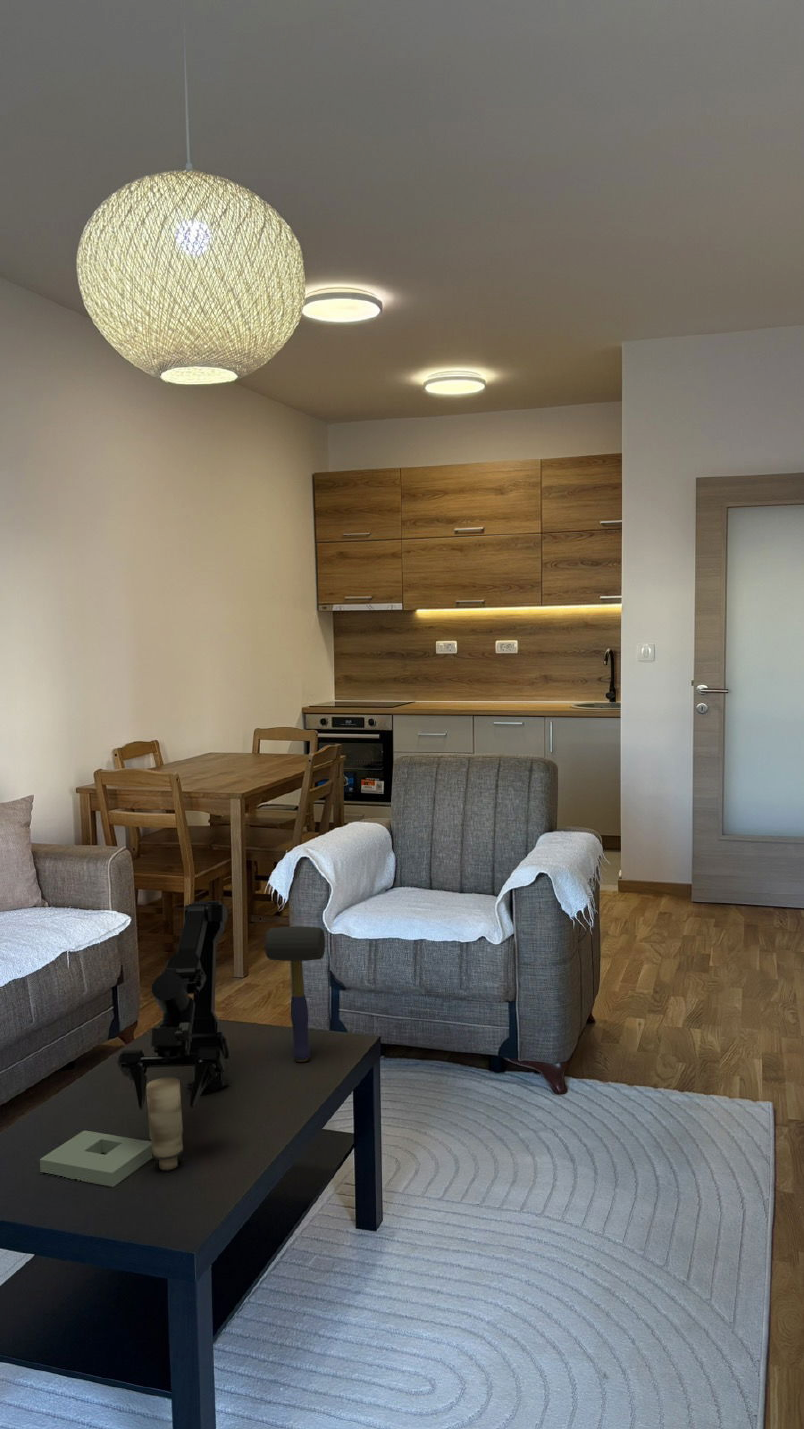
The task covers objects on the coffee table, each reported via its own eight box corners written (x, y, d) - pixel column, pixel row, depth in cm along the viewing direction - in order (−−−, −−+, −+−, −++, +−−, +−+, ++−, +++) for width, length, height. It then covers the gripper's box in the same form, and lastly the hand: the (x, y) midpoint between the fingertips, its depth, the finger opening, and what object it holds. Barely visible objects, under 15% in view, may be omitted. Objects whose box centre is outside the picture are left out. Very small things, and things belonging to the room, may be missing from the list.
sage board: (85, 1143, 204) (84, 1130, 204) (155, 1155, 197) (154, 1142, 197) (40, 1172, 193) (39, 1159, 193) (113, 1186, 186) (112, 1172, 186)
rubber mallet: (333, 1054, 242) (325, 922, 240) (326, 1067, 234) (318, 931, 232) (279, 1053, 244) (271, 922, 242) (270, 1066, 236) (262, 931, 234)
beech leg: (146, 1166, 193) (140, 1084, 192) (175, 1154, 197) (169, 1074, 196) (161, 1177, 189) (155, 1093, 188) (191, 1165, 193) (185, 1083, 192)
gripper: (117, 1008, 198) (102, 1091, 188) (218, 1004, 198) (209, 1087, 187) (131, 1034, 206) (118, 1116, 196) (229, 1031, 206) (221, 1112, 196)
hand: (166, 1107), depth 194 cm, fingers open, 9 cm apart
